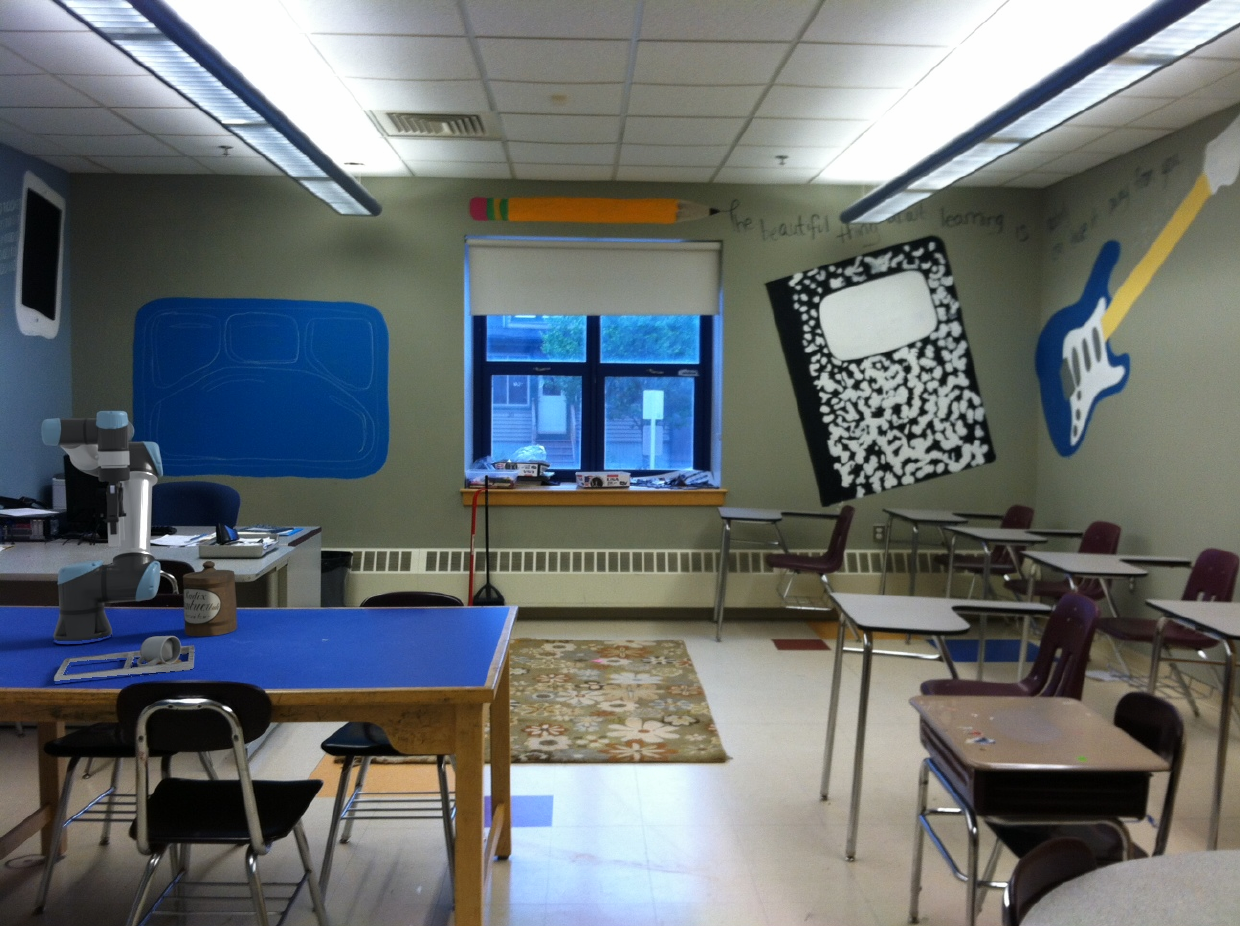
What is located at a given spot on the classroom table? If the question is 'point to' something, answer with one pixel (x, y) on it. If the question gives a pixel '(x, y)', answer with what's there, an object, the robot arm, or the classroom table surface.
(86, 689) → the classroom table surface
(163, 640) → the ceramic mug
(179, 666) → the slot rack
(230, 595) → the wooden container
